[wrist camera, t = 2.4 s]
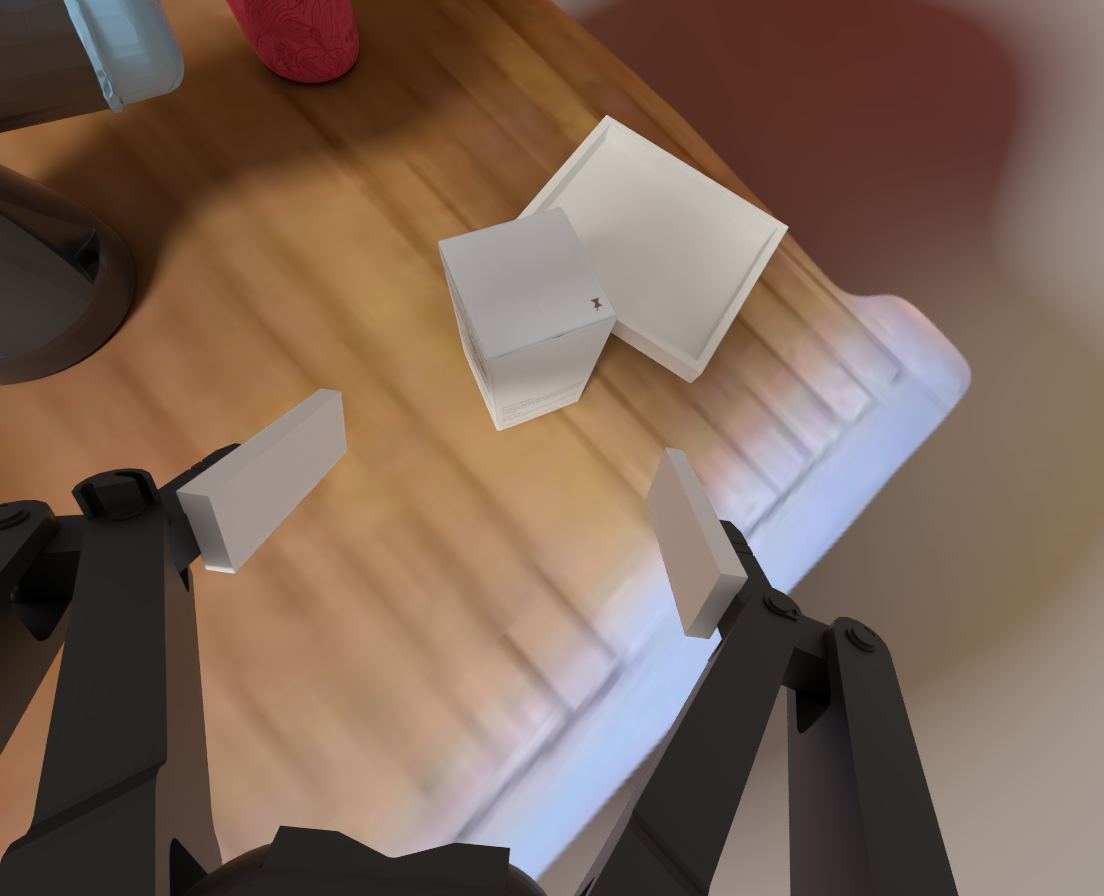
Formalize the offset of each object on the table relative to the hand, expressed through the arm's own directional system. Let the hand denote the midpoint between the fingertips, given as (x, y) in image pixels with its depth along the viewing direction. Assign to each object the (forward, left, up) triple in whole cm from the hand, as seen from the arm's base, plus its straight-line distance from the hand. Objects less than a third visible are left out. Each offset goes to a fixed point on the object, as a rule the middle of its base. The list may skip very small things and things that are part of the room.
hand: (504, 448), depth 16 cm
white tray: (-2, +25, -14) cm, 29 cm away
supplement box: (-4, +8, -14) cm, 17 cm away
